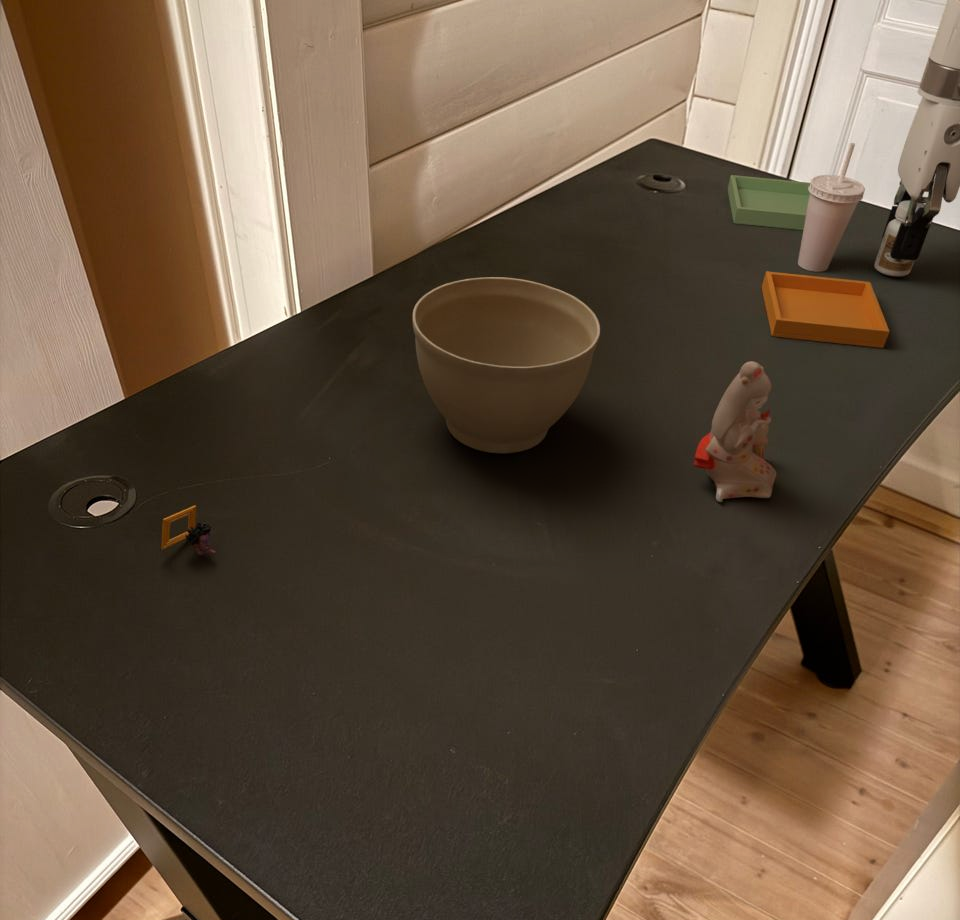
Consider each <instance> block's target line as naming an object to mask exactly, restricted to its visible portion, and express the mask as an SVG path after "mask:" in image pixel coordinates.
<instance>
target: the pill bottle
mask: <svg viewBox="0 0 960 920" xmlns="http://www.w3.org/2000/svg"><path fill="white" fill-rule="evenodd" d="M909 204H910V201H902V202H900V203H899V205H897V206H898V208H897V210H896V215H895V217H896V219H894V220H892V221H891V222H889V224H888V226H887V228H886V231H885V234H884V237H883V238H882V240H881V243H880V246H879V249H878V251H877V255H876V257H875V261H874V264H873V265H874V269H875V270H876V271H877V272H879V273H880V274H882V275H885V276H890V277H905V276H907V275H909V274H910V273H911V271H912V270H913V269H912V268H913V266H914V263H915V261H916V260H904V259H893V258H891V256H890V253H891V250H892V247H893V244H894V241H895V239H896V236H897V233H898V230H899V227H900V224H901V223H905V218H906V215H907V211H908V208H909ZM924 205H925V204H924V203H918V204H917V207H916V211H917V210H918V209H919V208H920V207H924ZM916 211H915V212H916Z"/></svg>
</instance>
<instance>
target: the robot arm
mask: <svg viewBox="0 0 960 920" xmlns="http://www.w3.org/2000/svg"><path fill="white" fill-rule="evenodd" d="M917 94H918V95H919V96H920V97H921V99H920V102H919V104H918V106H917V109H916V112H915V115H914V117H913V119H912V123H911V125H910V128H909V130H908V133H907V137H906V139H905V142H904V145H903V148H902V152H901V155H900V157H899V162H898V166H897V175H898V177H899V179H900V181H899V186H898V188H897V191H896V194H895V197H894V199H893V205H892V206H891V208H890V212H889V215H888V217H887V220H886V224H885V227H884V230H883V232H882V235H881V238H882V239H883V237H884V234H885V231H886V228H887V226H888V224H889V222H891V221H892V220H894V219H896V217H895V215H896V210H897V208H898V205H899V203H900V202H902V201H910V204H909V208H908V211H907V215H906V218H905V223H901V224H900V227H899V230H898V233H897V236H896V239H895V241H894V244H893V247H892V250H891V253H890V256H891V258H893V259H904V260H915V261H917V260H918V259H919V257H920V254H921V251H922V248H923V246H924V243H925V240H926V238H927V236H928V233H929V230H930V228H931V226H932V224H933V220H934V218H935V217H936V216H938V215H939V214H940V211H941V209H942V202H943V200H944V202H945V203H948V204H950V203H953V201H954V200H956V198H957V195H958V193H959V190H960V0H946V3H945V6H944V9H943V13H942V15H941V19H940V22H939V25H938V28H937V30H936V34H935V36H934V40H933V43H932V46H931V49H930V52H929V54H928V58H927V61H926V65H925V66H924V70H923V73H922V76H921V80H920V83H919V85H918V88H917ZM925 193H927V196H924V194H925ZM918 203H924V204H925V205H924V207H920V208H919V209H918V210H917V211H916V207H917V204H918ZM915 211H916V212H915Z"/></svg>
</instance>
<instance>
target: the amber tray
mask: <svg viewBox="0 0 960 920" xmlns="http://www.w3.org/2000/svg"><path fill="white" fill-rule="evenodd" d="M761 291H762V296H763V301H764V306H765V311H766V315H767V316H766V317H767V320H768V324H769V325H768V326H769V331H770V334H771V337H774V338H775V337H776V338H782V339H783V338H784V339H795V340H804V341H813V342H814V341H815V342H821V343H830V344H831V343H832V344H842V345H851V346H859V347H870V348H878V349H883V348H884V347H885V344H886V342H887V339H888V336H889V335H890V329H889V327H888V323H887V321H886V319H885V315H884V313H883V311H882V309H881V306H880V304H879V301H878V299H877V295H876V293H875V291H874V289H873V285H872V283H871V282H870V281H865V280H857V279H856V280H853V279H845V278H837V277H825V276H817V275H816V276H815V275H805V274H798V273H797V274H796V273H788V272H787V273H786V272H777V271H768V270H766V271H765V274H764V277H763V281H762V284H761Z"/></svg>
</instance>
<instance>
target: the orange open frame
mask: <svg viewBox="0 0 960 920" xmlns="http://www.w3.org/2000/svg"><path fill="white" fill-rule="evenodd" d="M187 516H188V517H187ZM185 517H187V519H188V520H187V529H186V531H185V532H183V533H181V534H179V535H176V536H175V537H172V538H171V537H170V534H171V524H172V523H173V522H176V521H178V520H180V519H183V518H185ZM196 517H197V505H195V504H194V505H192V506H189V507H188V508H185V509H183V510H180V511H178V512H176V513H173V514H171V515H169V516H167V517H165V518H163V519H162V528H161V546H160V547H161V548H160V549H161V550H166V549H168V548H170V547H172V546H174V545H176V544H178V543H181V542H182V541H185V540H186V543H187V544H189V545H191V546H192V547H193V551H194V552H195V553H196V554H197V555H199V556H201V555H205V552H209V553H211V554H216V553H217V552H216V550H214V549H211V548H210V546H211V545H212V544H211V543H210V535H212V533H211V529H212V526H210V524H209V523H207V522H203V523H202V522H197V524H196V520H197V519H196Z"/></svg>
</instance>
